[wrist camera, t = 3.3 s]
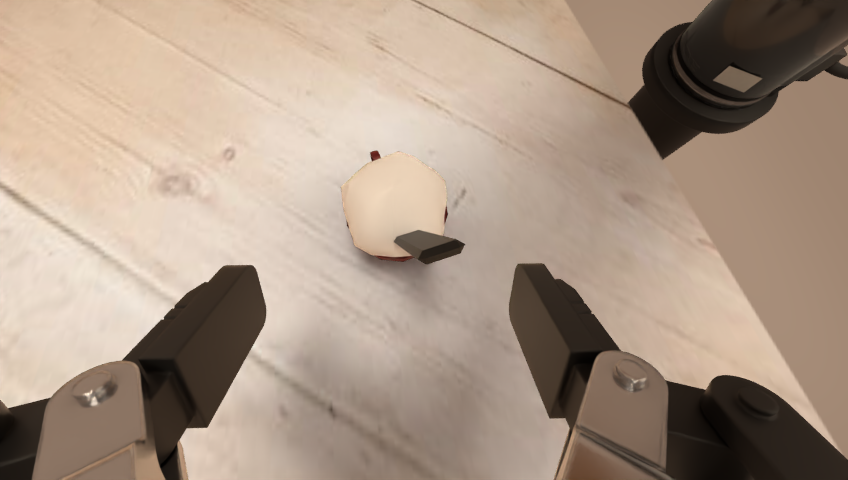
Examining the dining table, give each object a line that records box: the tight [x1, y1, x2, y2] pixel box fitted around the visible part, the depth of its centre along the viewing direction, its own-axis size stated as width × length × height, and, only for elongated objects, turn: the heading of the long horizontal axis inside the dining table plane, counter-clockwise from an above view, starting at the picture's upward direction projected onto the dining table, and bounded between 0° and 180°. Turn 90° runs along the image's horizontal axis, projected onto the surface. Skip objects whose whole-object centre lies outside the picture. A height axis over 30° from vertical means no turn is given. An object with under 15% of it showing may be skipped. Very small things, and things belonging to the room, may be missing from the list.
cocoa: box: [341, 151, 465, 264], centre depth 18 cm, size 10×6×12 cm, turn 178°
